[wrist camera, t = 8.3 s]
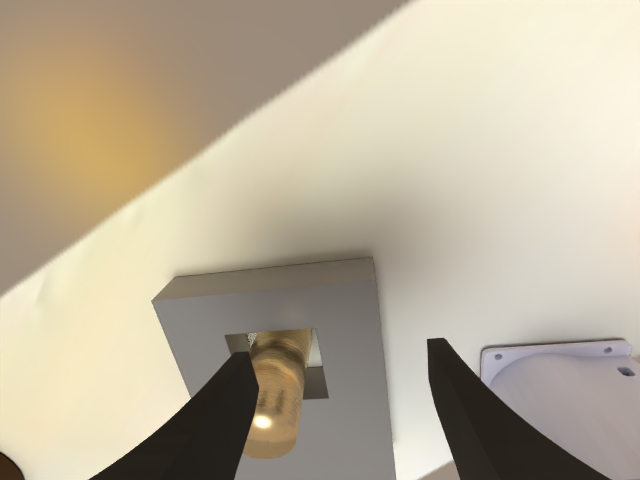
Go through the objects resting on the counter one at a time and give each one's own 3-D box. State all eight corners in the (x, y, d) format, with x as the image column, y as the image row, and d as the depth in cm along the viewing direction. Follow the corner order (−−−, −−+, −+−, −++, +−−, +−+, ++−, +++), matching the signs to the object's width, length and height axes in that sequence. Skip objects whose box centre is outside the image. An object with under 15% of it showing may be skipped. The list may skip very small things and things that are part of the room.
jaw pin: (310, 312, 24) (293, 408, 16) (313, 355, 25) (298, 461, 18) (256, 311, 24) (215, 404, 17) (261, 354, 26) (227, 457, 18)
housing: (372, 257, 22) (375, 279, 19) (391, 444, 28) (396, 481, 26) (174, 277, 23) (151, 301, 21) (237, 448, 30) (225, 483, 27)
